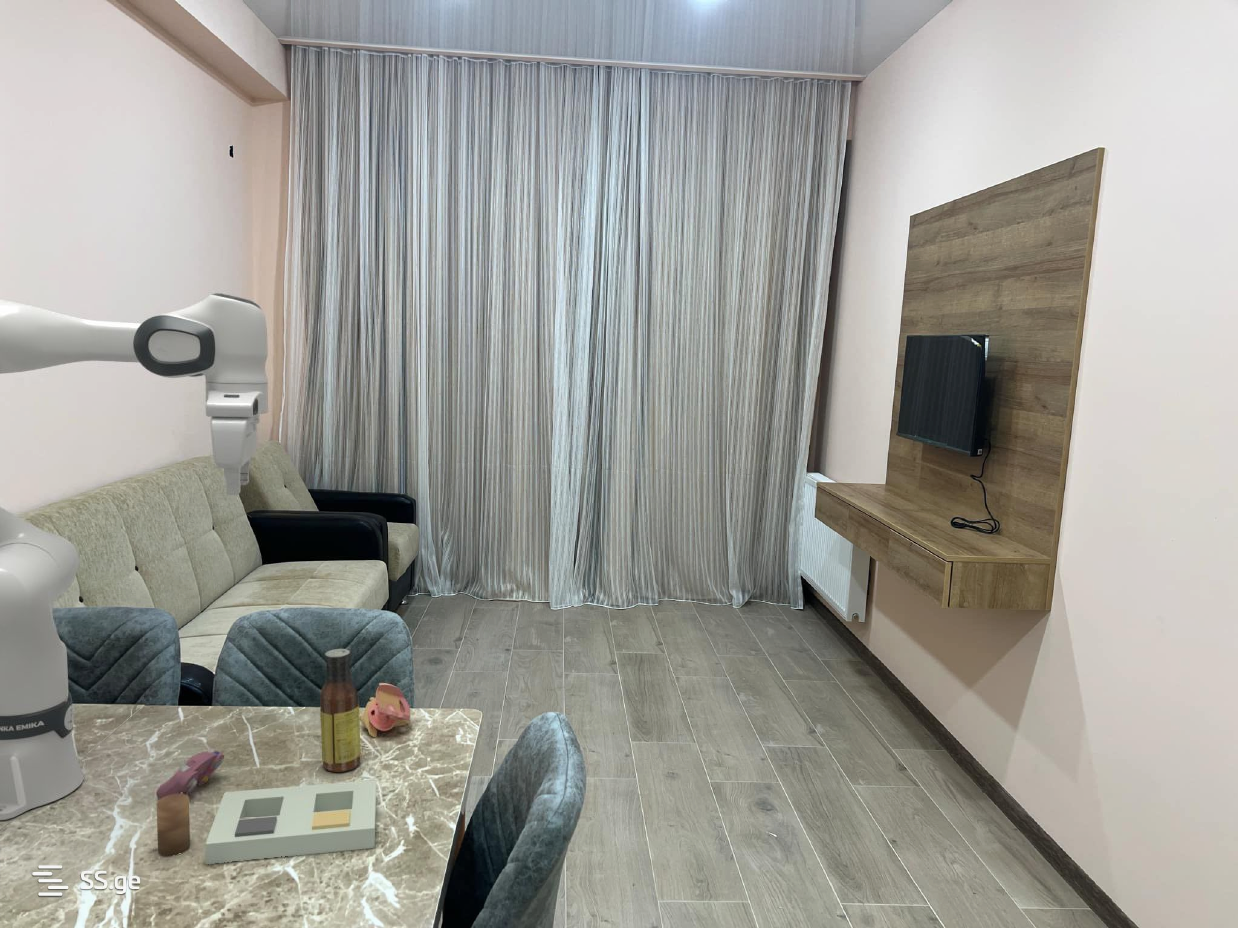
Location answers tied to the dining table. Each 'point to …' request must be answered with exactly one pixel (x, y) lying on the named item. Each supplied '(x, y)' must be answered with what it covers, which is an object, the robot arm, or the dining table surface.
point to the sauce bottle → (339, 714)
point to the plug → (173, 824)
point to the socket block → (293, 821)
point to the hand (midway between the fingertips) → (238, 489)
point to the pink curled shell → (385, 710)
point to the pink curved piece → (192, 773)
